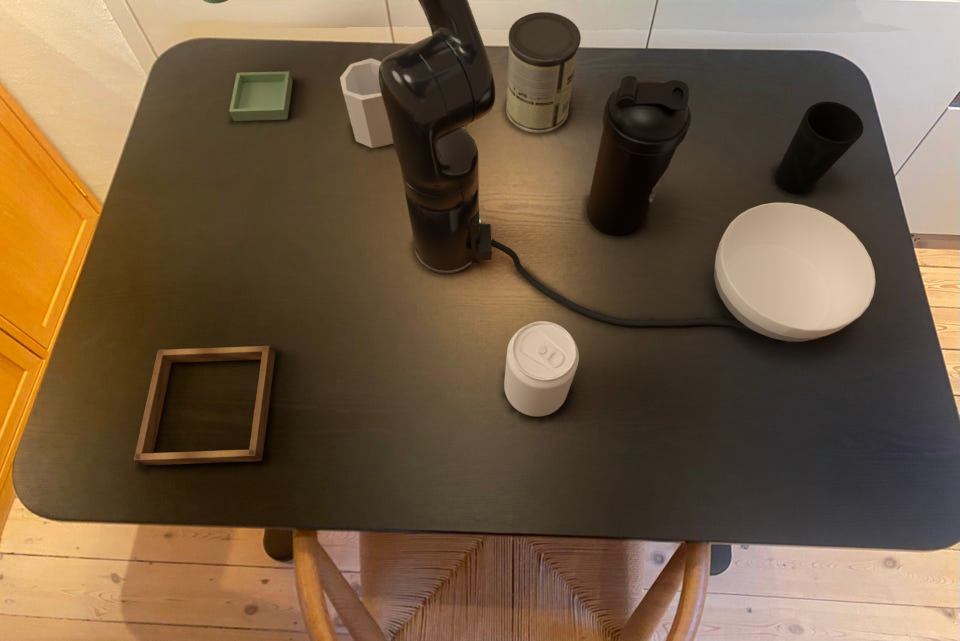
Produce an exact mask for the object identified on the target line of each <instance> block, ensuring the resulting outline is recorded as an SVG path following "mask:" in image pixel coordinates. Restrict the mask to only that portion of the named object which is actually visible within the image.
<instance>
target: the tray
mask: <svg viewBox="0 0 960 641" xmlns="http://www.w3.org/2000/svg"><path fill="white" fill-rule="evenodd" d="M293 82H294V80H293V78H292V75H291V72H290V71H289V70H287V71H285V70H284V71H254V72H251V71H250V72H236V75H235V80H234V85H233V90H232V94H231V100H230V104H229V109H228V112H229V114H230V117H231V119H232V120H233V122H248V121H249V122H250V121H251V122H252V121H284V120H288V118H289V112H290V104H291V97H292V90H293Z"/></svg>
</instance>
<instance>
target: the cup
mask: <svg viewBox="0 0 960 641" xmlns="http://www.w3.org/2000/svg"><path fill="white" fill-rule="evenodd" d="M863 134H864V123H863V121H862V119H861V117H860V115H859V114H858V113H857V112H856V111H855V110H854V109H852V108H851V107H849V106H847V105H845V104H843V103H840V102H836V101H819V102H816V103H814V104H811V105H810V106H809V107H808V108H807V109H806V110H805V113H804V114H803V117H802V119H801V121H800V123H799V125H798V127H797V129H796V131H795V132H794V135H793V137H792V139H791V141H790V143H789V144H788V147H787V149H786V150H785V153H784V154H783V157H782V158H781V161H780V163H779V165H778V167H777V169H776V171H775V174H774V180H775V183H776V185H777V186H778V188H780V189H781V190H782V191H784V192H786V193H789V194H791V195H803V194H806V193H808V192H809V191H810V190H811V189H812V188H813V187H814V186H815V185H816V184H817V183H818V182H819V181H820V180H821V179H822V177H823V176H825V175H826V174H827V173H828V172H829V171H830V170H831V168H832V167H833V166H834V165H835V164H836V163H837V162H838V161H839V160H840V159H841V158H842V157H843V156H844V154H846V152H847V151H848V150H849V149H850V148H851V147H852V146H853V145H854V144H855V143H856V142H857V141H859V139H860V138H861V137H862V135H863Z"/></svg>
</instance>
